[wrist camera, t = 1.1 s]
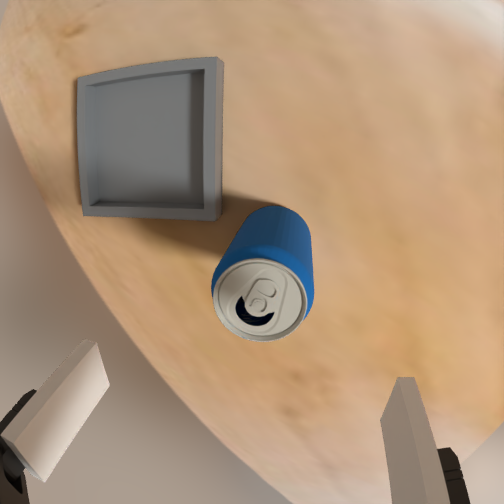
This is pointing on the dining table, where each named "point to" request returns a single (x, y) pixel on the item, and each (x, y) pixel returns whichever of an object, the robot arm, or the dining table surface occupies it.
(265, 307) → the beverage can
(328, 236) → the dining table surface
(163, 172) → the tray
